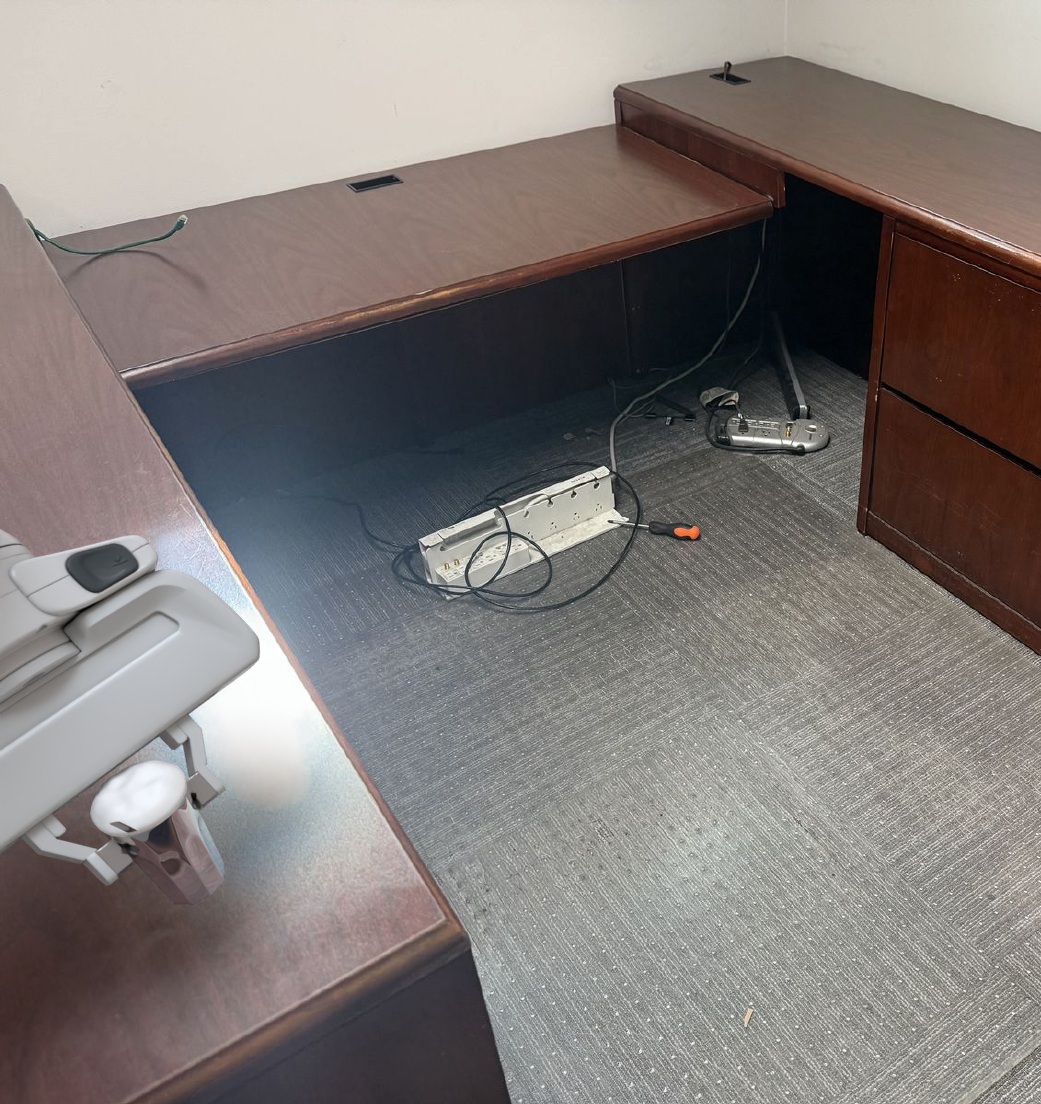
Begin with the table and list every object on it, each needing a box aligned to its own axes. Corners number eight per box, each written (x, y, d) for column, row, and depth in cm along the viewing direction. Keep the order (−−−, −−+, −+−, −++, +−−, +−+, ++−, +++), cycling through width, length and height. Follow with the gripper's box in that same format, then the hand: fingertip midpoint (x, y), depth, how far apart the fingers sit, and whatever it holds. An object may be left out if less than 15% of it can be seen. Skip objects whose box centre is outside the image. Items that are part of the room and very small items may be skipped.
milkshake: (145, 939, 55) (62, 834, 49) (159, 858, 59) (84, 751, 53) (232, 917, 56) (162, 811, 50) (240, 838, 60) (176, 730, 54)
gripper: (-260, 769, 43) (-25, 997, 45) (167, 519, 56) (332, 704, 59) (-242, 790, 48) (-29, 995, 50) (148, 554, 61) (303, 724, 63)
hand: (169, 836), depth 54 cm, fingers closed on milkshake, 4 cm apart
